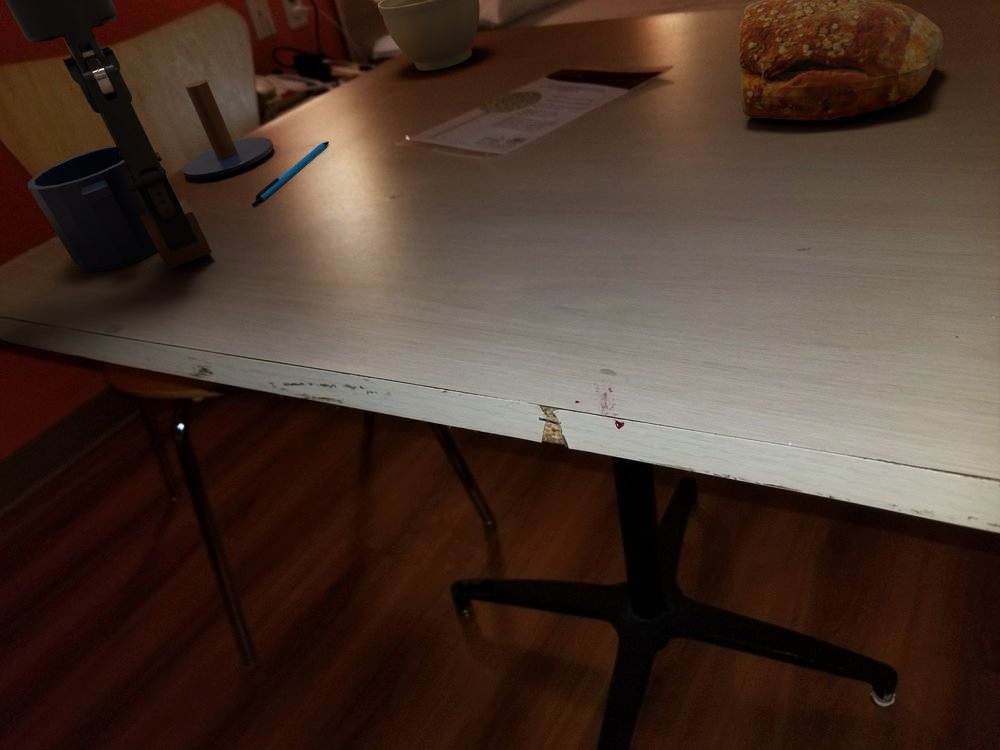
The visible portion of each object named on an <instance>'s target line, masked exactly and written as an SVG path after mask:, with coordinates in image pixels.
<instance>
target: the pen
mask: <svg viewBox="0 0 1000 750" xmlns="http://www.w3.org/2000/svg"><path fill="white" fill-rule="evenodd" d="M328 145H329V141H327V140H326V141H324V142H322V143H319V144H318V145H317V146H316V147H314V148H313V149H312V150H311V151H309V153H307V154H306V155H305V156H304V157H303V158H301V159H300V160H299V161H298V162H297V163H295V164H294V165H293V166H292V167H291V168H289V169H288V170H287V171H285V172H284V173H283V174H282V175H281V176H280V177H276V178H275V179H273V180H272V181H271V182H270V183H269V184H267V185H266V186H265V187H264V188H263V189H261V190H260V191H259V192H258V193H256V195H255V201H253V203H251V206H252V207H253V208H255V207H256V206H257V205H258V204H262V203H264V202H265V201H266V200H267V199H268V198H269V197H271V196H272V195H273V194H274V193H275V192H277V191H278V190H279V189H280V188H281V187H282V186H283V185H285V184H287V182H289V181H290V180H291V179H292V178H293V177H294V176H295V175H297V174H298V173H299V172H300V171H302V169H303V168H305V167H306V166H307V165H308V164H310V163H311V162H312V161H314V159H315V158H316V157H318V156H319V155H320V154H321V153H323V151H325V150H326V148H327V146H328Z"/></svg>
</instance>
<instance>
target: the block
mask: <svg viewBox="0 0 1000 750" xmlns="http://www.w3.org/2000/svg"><path fill="white" fill-rule="evenodd" d="M178 201H179V203H180V206H181V208H182V210H183V212H184V214H185V216H186V218H187V220H188V222H189V224H190V226H191V228H192V230H193V232H194V234H195V236H196V238H197V241H198V242H195V243H193V244H190V245H188V246H185V247H182V248H180V249H177V250H175V251H172V252H170V250H169V248H168V246H167V244H166V242H165V240H164V238H163V236H162V235H161V233H160V231H159V229H158V227H157V225H156V223H155V221H154V219H153V217H152V215H151V213H150V212H149V213H147V214H144V215H141V216H140V217H141V219H142V221H143V223H144V225H145V227H146V229H147V231H148V233H149V235H150V237H151V239H152V241H153V243H154V244H155V246H156V248H157V250H158V251H157V253H158V255H159V256H160V258H161V260H162V262H163V264H164V265H165V268H166V270H167V271H168V270H171V269H173V268H177V267H179V266H181V265H184V264H186V263H189V262H192V261H194V260H197V259H199V258H202V257H204V256H207V255H209V254H211V253H213V251H212V249H211V247H210V245H209V243H208V239H207V238H206V237H205V234H204V232H203V230H202V228H201V226H200V224H199V222H198V219H197V218H196V216H195V213H194V211H193V210H192V208H191V207H190V205H189V204H188V203H187V201H186V200H185V199H182V200H178Z"/></svg>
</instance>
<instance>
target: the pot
mask: <svg viewBox="0 0 1000 750" xmlns="http://www.w3.org/2000/svg"><path fill="white" fill-rule="evenodd" d="M131 173H132V172H130V171H129V169H127V168H126V166H125V161H124V160H122V158H121V157H120V156H119V150H118V148H117V146H116V144H114V145H113V144H112V145H108V146H104V147H101V148H95V149H93V150H89V151H86V152H83V153H80V154H78V155H77V154H76V155H75V156H72V157H69V158H67V159H64V160H61V161H60V162H57V163H55V164H53V165H51V166H48V167H47V168H46V169H44V170H42V171H40V172H39V173H37V174H35V175H34V176H33V177H32V178H31V179H30V180H29V181H28V182H27V188H28V190H29V192H30V193H31V195H32V197H33V198H34V200H35V201H36V203H37V204H38V206H39V208H40V209H41V211H42V213H43V214H44V216H45V217H46V220H47V221H48V222H49V224H50V225H51V227H52V229H53V231H54V232H55V233H56V235H57V237H58V239H59V240H60V242H61V243H62V245H63V247H64V249H65V250H66V252H67V253H68V255H69V257H71V259H72V262H73V263H74V264H75V265H76V266H77V268H78V269H79V270H80V271H82V272H88V273H97V272H99V273H100V272H106V271H111V270H115V269H118V268H122V267H125V266H129V265H131V264H134V263H137V262H139V261H141V260H145V259H146V258H148V257H151V256H152V255H154V254H155V253H158V250H157V248H156V246H155V244H154V243H153V241H152V239H151V237H150V235H149V233H148V231H147V229H146V227H145V225H144V223H143V221H142V219H141V217H140V216H141V215H144V214H147V213H149V211H148V209H147V207H146V205H145V203H144V201H143V199H142V197H141V195H140V193H139V191H138V190H136V191H134V192H132V191H131V189H130V187H129V185H131V184H134V182H133V180H132V178H131V176H130V174H131Z"/></svg>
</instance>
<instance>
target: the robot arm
mask: <svg viewBox="0 0 1000 750" xmlns="http://www.w3.org/2000/svg"><path fill="white" fill-rule="evenodd" d="M4 2H5V3H6V5H7V7H8V9H9V10H10V12H11V15H12V16H13V18H14V20H15V22H16V24H17V25H18V27H19V29H20V31H21V32H22V34H23V36H24V38H25V39H26V40H27V41H29V42H32V43H44V42H50V41H53V40H57V39H61V38H62V39H63V41H64V44H65V45H66V47H67V50H68V51H69V54H71V55H70V57H67V58H63V59H62V62H63V64H64V65H65V67H66V69H67V71H68V73H69V75H70V77H71V78H72V80H73V81H74V83H76V84H77V85H78V86H79V89H80V90H81V92H82V94H83V95H84V98H85V100H86V101H87V103H88V105H89V106H90V108H91V110H92V111H93V112H94V113H95V114H99V115H100V118H101V119H102V122H103V123H104V126H105V127H106V129H107V131H108V133H109V134H110V137H111V139H112V140H113V142H114V145H116V146H117V148H118V150H119V156H120V157H121V158H122V160H124V161H125V166H126V168H127V169H129V171H130V172H132V173H131V174H130V176H131V178H132V180H133V182H134V184H131V185H129V187H130V189H131V191H132V192H134V191H136V190H138V191H139V193H140V195H141V197H142V199H143V201H144V203H145V205H146V207H147V209H148V211H149V212H150V213H151V215H152V217H153V219H154V221H155V223H156V225H157V227H158V229H159V231H160V233H161V235H162V236H163V238H164V240H165V242H166V244H167V246H168V248H169V250H170V252H172V251H175V250H177V249H180V248H182V247H185V246H188V245H190V244H193V243H195V242H198V241H197V238H196V236H195V234H194V232H193V230H192V228H191V226H190V224H189V222H188V220H187V218H186V216H185V214H184V212H183V210H182V208H181V206H180V203H179V201H180V200H179V199H178V197H177V195H176V193H175V191H174V189H173V187H172V185H171V183H170V181H169V179H168V177H167V171H166V169H165V167H163V166H162V164H161V162H162V161H163V159H162V157H161V155H160V154H159V151H158V152H155V150H154V148H153V146H152V144H151V141H150V139H149V137H148V135H147V133H146V131H145V129H144V127H143V125H142V123H141V120H140V118H139V117H138V115H137V113H136V110H135V108H134V106H133V104H132V101H133V96H132V94H131V91H130V89H129V88H128V86H127V83H126V82H125V79H124V77H123V76H122V73H121V64H120V62H119V61H118V59H117V56H116V54H115V52H114V51H113V49H112V48H110V46H105V47H101V46H100V43H99V42H98V40H97V38H96V36H95V33H94V32H93V29H95V28H99V27H103V26H106V25H108V24H110V23H112V22H114V21H115V20H116V19H117V17H118V11H117V9H116V6H115V4H114V1H113V0H4Z"/></svg>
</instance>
